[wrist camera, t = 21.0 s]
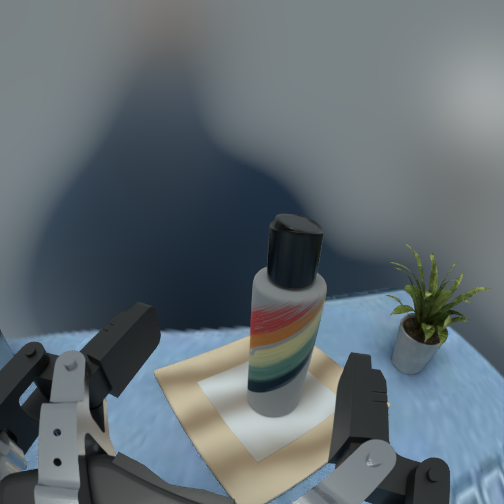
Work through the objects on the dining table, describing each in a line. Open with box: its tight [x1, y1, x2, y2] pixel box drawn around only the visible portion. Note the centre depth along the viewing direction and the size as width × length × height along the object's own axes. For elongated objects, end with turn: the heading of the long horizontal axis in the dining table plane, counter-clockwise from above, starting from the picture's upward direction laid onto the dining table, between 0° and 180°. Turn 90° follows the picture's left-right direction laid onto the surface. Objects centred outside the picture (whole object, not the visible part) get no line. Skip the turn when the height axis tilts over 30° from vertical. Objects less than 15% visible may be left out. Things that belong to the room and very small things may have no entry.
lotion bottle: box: [247, 214, 327, 417], centre depth 23 cm, size 6×6×20 cm
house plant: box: [386, 246, 489, 375], centre depth 30 cm, size 14×14×16 cm
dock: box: [154, 336, 391, 504], centre depth 28 cm, size 20×20×1 cm
